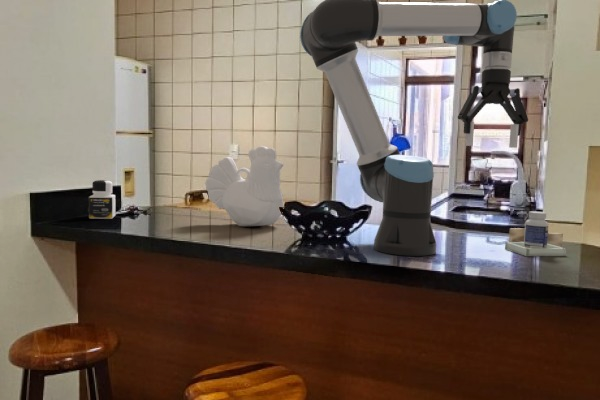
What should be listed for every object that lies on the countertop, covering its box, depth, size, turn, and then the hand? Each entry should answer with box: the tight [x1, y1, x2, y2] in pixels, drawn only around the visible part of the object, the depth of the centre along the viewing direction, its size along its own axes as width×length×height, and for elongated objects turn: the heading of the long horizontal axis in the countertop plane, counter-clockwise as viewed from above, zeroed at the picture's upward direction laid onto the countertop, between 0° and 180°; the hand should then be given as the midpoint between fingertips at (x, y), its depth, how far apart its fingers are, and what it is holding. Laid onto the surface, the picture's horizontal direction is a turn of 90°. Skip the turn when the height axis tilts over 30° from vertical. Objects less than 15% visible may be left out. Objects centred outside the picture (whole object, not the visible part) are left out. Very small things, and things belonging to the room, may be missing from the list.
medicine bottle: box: [88, 179, 116, 220], centre depth 170 cm, size 7×7×12 cm
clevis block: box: [508, 227, 564, 248], centre depth 145 cm, size 10×9×4 cm
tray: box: [504, 241, 567, 257], centre depth 134 cm, size 11×9×2 cm
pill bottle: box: [524, 210, 549, 248], centre depth 134 cm, size 5×5×10 cm
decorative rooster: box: [204, 145, 285, 227], centre depth 164 cm, size 25×16×25 cm, turn 63°
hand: (491, 146), depth 148 cm, fingers open, 13 cm apart
